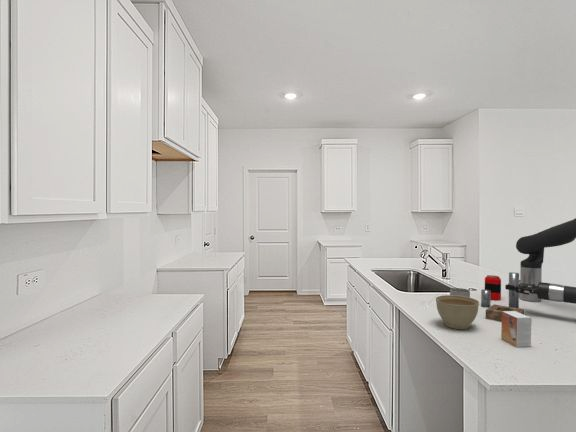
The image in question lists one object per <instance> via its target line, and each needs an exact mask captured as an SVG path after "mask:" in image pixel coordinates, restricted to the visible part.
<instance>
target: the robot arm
mask: <svg viewBox="0 0 576 432" xmlns="http://www.w3.org/2000/svg"><path fill="white" fill-rule="evenodd" d="M575 239H576V217H575V218H574V219H572V220H569V221H565V222H563V223H560V224H557V225H554V226H551V227H549V228H547V229H544V230H542V231H539V232H537V233H534V234H531V235H527V236H522V237H520V238H518V239H517V240H516V242H515V243H516V244H515V247H516V250H517V252H518V253H520V254H523V255H528V257H526V258H524V259H523V260H521V261H520V265H519V267H520V272H519V286H514V285H509V282H508V284H505V287H504V288H505V290H506V291H507V290H508V291H509V290H514V291H515V292H517V293H519V300H522V301H527V302H535V303H536V302H538V303H539V302H542V301H543V300H544V301H548V302H549V301H550V302H559V303H566V304H567V303H569V304H574V305H575V304H576V287H575V286H569V285H563V284H559V283H550V282H543V281H542V270H543V269H542V266H543V263H544V258H545V257H544V256H545V249H546V248H553V247H555V248H556V247H560V246H564V245H568V244H570V243H572V242H573V241H575ZM518 288H519V290H518Z"/></svg>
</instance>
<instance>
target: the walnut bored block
mask: <svg viewBox="0 0 576 432" xmlns="http://www.w3.org/2000/svg"><path fill="white" fill-rule="evenodd" d="M502 311H517V312H519V313H521V314H523V315H525V309H524V308H520V307H519V308H513V307H509V306H507V305H500V304H495V303H493V304H491V306H490V307H489V308H486V309H485V320H490V321H496V322H501V323H502Z"/></svg>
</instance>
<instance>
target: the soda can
mask: <svg viewBox="0 0 576 432" xmlns="http://www.w3.org/2000/svg"><path fill="white" fill-rule="evenodd" d="M484 289H486V290H490V291H491V301H500V300H501V299H502V279H501V277H500V276H498V275H494V274H493V275H492V274H490V275H486V276H485V277H484Z"/></svg>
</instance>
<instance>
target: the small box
mask: <svg viewBox="0 0 576 432" xmlns="http://www.w3.org/2000/svg"><path fill="white" fill-rule="evenodd" d="M500 335H501V337H500V338H501V339H502V340H503V341H505V342H507V343H509V344H510V345H512V346H514V347H515V348H523V347H524V348H528V347H531V346H532V317H531V316H528V315H525V314H524V315H523V314H521V313H519V312H517V311H502V322H501V333H500Z"/></svg>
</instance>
